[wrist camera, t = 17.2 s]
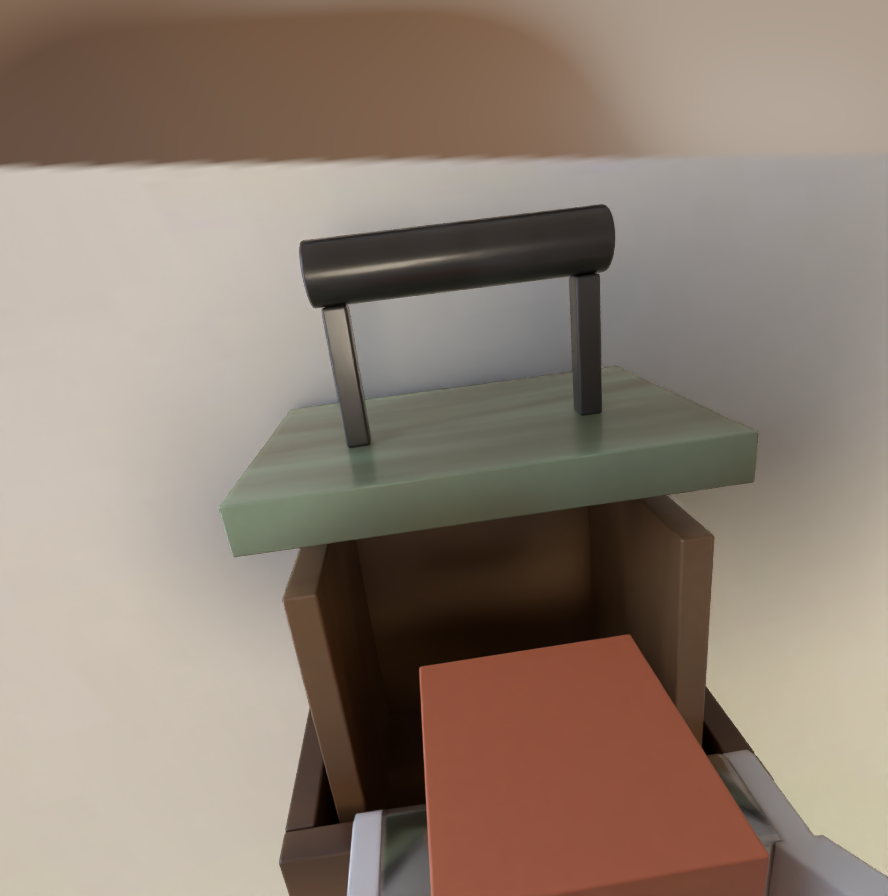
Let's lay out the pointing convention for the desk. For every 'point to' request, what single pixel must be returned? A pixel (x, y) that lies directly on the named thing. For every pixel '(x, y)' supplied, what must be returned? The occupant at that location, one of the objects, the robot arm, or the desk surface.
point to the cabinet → (329, 842)
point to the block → (574, 782)
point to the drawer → (478, 502)
